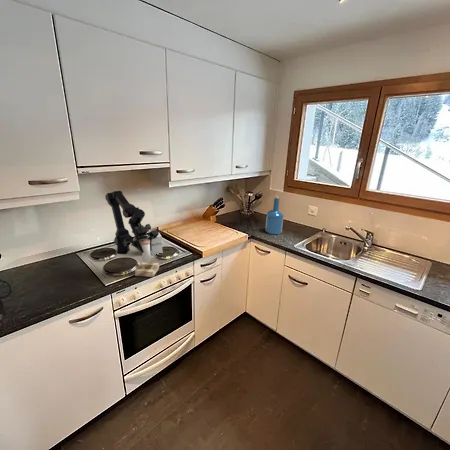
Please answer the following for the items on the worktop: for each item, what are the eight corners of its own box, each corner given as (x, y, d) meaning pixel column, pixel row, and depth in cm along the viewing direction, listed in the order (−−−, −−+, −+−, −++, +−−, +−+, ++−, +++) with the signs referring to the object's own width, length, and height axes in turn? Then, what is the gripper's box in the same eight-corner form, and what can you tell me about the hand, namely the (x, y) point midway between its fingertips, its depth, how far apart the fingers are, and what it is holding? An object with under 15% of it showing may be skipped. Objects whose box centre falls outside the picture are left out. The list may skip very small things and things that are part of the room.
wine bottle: (276, 228, 220) (280, 194, 210) (284, 234, 208) (289, 198, 198) (262, 230, 216) (265, 194, 206) (269, 235, 204) (273, 198, 194)
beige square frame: (135, 276, 141) (134, 270, 139) (142, 267, 150) (142, 262, 149) (153, 277, 140) (152, 272, 139) (159, 268, 149) (158, 263, 148)
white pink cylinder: (140, 262, 140) (139, 242, 136) (144, 258, 145) (142, 238, 141) (149, 263, 140) (147, 243, 136) (152, 259, 145) (151, 239, 141)
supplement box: (151, 256, 164) (150, 237, 160) (148, 251, 170) (147, 233, 166) (162, 254, 167) (161, 236, 163) (160, 249, 173) (159, 232, 169)
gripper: (123, 223, 131) (134, 250, 128) (156, 216, 143) (167, 241, 140) (118, 233, 140) (129, 258, 136) (150, 226, 152) (160, 249, 148)
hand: (147, 251), depth 140 cm, fingers closed on white pink cylinder, 4 cm apart
